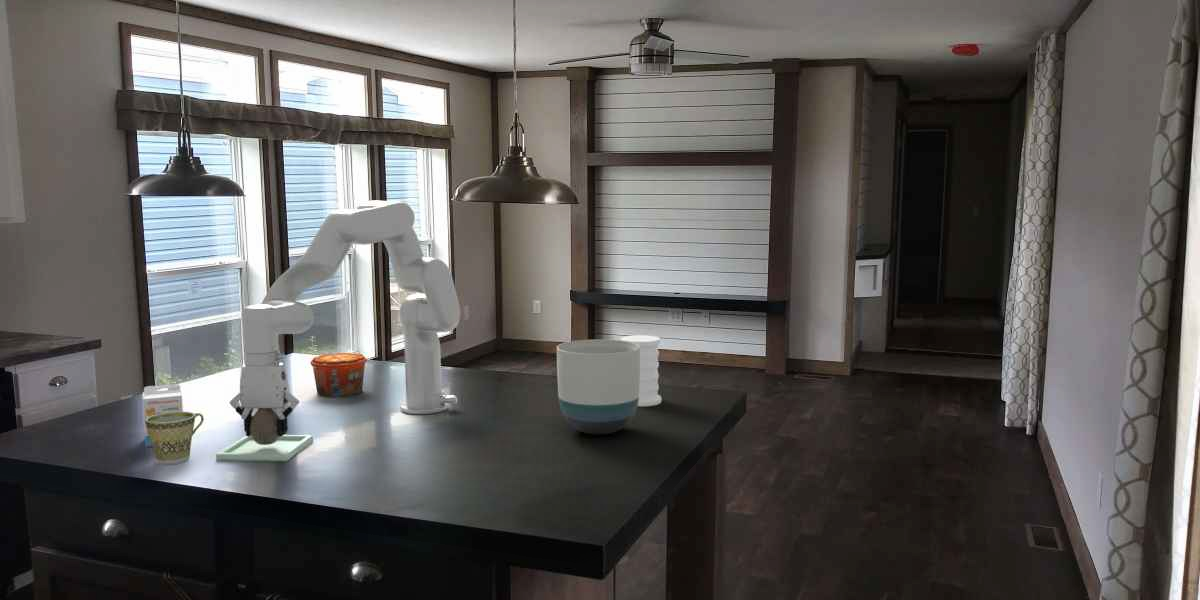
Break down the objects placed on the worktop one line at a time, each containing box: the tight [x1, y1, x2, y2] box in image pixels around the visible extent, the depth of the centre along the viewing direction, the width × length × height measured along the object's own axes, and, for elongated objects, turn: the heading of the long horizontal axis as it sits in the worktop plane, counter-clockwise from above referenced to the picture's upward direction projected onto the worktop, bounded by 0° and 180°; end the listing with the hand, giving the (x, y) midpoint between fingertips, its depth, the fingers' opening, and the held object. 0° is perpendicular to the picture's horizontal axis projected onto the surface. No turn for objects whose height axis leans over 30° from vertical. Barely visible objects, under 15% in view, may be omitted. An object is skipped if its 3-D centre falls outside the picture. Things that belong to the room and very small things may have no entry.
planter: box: [556, 339, 640, 436], centre depth 223 cm, size 20×20×21 cm
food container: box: [310, 352, 368, 398], centre depth 268 cm, size 16×16×11 cm
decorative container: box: [620, 334, 662, 407], centre depth 255 cm, size 12×12×18 cm
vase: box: [250, 409, 279, 445], centre depth 209 cm, size 7×7×9 cm
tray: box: [215, 434, 314, 462], centre depth 210 cm, size 16×16×2 cm
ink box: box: [142, 383, 184, 448], centre depth 218 cm, size 9×8×13 cm
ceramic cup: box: [145, 411, 205, 466], centre depth 204 cm, size 13×10×10 cm
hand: (266, 434), depth 210 cm, fingers closed on vase, 6 cm apart
